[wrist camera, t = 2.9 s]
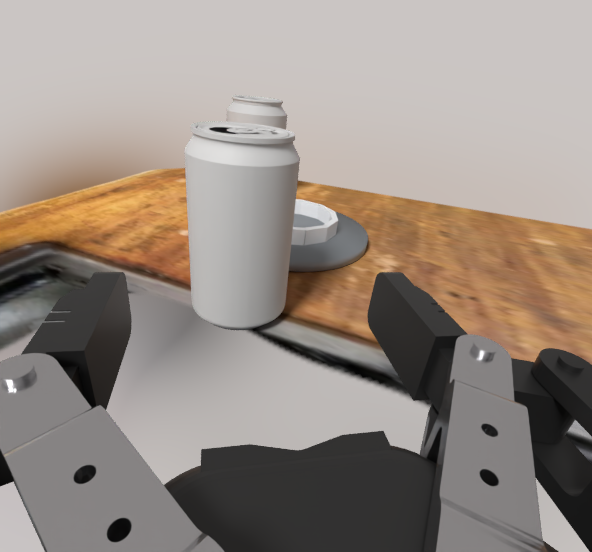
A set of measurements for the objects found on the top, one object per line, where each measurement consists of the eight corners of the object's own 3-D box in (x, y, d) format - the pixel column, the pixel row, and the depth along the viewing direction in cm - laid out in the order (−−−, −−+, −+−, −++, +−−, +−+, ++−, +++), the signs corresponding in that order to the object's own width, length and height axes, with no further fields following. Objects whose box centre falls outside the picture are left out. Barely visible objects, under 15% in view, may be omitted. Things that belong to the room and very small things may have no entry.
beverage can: (190, 288, 27) (180, 115, 21) (273, 282, 29) (284, 122, 23) (195, 343, 22) (184, 133, 16) (296, 331, 24) (318, 140, 18)
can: (291, 198, 50) (299, 101, 44) (241, 203, 46) (243, 98, 40) (264, 183, 55) (269, 95, 49) (217, 187, 51) (216, 91, 45)
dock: (385, 232, 41) (390, 211, 40) (326, 291, 29) (331, 263, 28) (267, 201, 48) (268, 182, 46) (176, 237, 35) (175, 212, 34)
